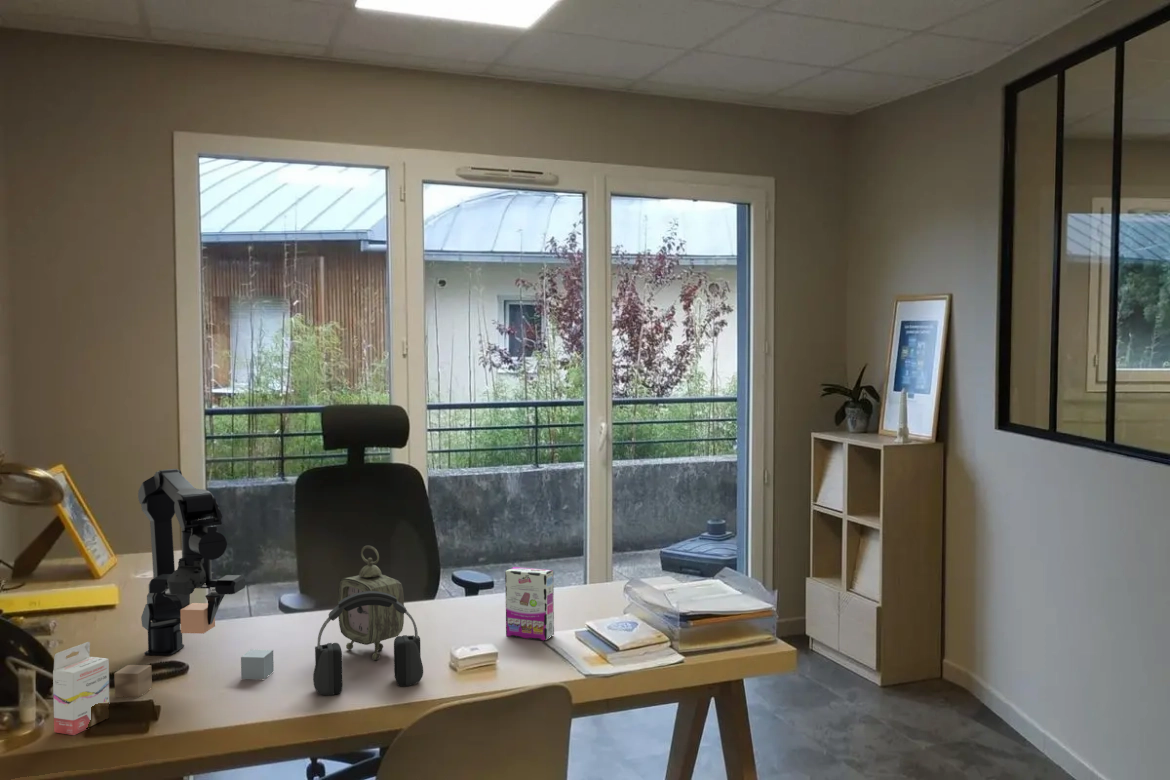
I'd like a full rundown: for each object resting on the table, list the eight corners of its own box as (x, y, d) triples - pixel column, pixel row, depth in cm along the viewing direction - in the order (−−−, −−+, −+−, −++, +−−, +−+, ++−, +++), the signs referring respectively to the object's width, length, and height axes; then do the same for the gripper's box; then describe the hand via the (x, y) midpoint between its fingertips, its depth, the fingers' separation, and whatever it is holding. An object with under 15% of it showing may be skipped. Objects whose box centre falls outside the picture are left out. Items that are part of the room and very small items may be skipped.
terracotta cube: (180, 633, 193) (180, 609, 193) (192, 625, 198) (192, 603, 198) (203, 633, 193) (203, 610, 193) (215, 626, 198) (214, 603, 198)
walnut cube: (114, 697, 186) (114, 673, 186) (128, 688, 191) (128, 664, 191) (138, 698, 186) (138, 673, 185) (152, 688, 191) (151, 665, 190)
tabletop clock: (338, 650, 214) (336, 544, 213) (371, 641, 221) (369, 538, 220) (374, 664, 205) (372, 553, 204) (407, 654, 211) (406, 547, 210)
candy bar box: (555, 635, 225) (554, 569, 224) (546, 641, 220) (546, 574, 219) (514, 630, 229) (513, 565, 228) (504, 636, 224) (504, 570, 223)
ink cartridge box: (74, 736, 167) (72, 656, 166) (53, 733, 168) (50, 654, 168) (111, 718, 175) (109, 642, 175) (90, 715, 177) (88, 640, 176)
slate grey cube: (241, 680, 195) (240, 657, 195) (251, 671, 200) (250, 649, 200) (264, 680, 195) (263, 657, 195) (273, 672, 200) (273, 649, 200)
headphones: (314, 699, 185) (312, 601, 184) (312, 688, 191) (311, 593, 190) (424, 685, 192) (423, 591, 191) (420, 675, 198) (419, 584, 197)
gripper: (133, 559, 187) (134, 634, 188) (221, 560, 186) (223, 636, 187) (161, 547, 198) (163, 618, 199) (245, 548, 197) (246, 620, 198)
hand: (198, 623), depth 196 cm, fingers closed on terracotta cube, 5 cm apart
